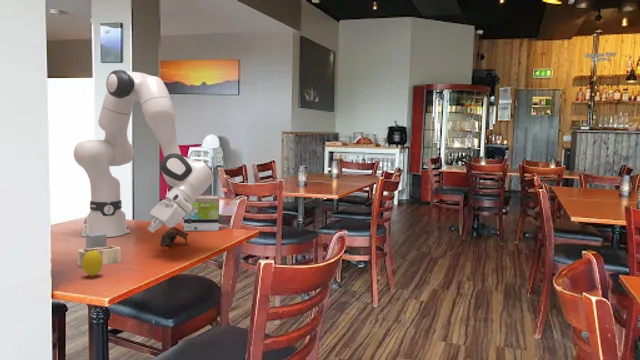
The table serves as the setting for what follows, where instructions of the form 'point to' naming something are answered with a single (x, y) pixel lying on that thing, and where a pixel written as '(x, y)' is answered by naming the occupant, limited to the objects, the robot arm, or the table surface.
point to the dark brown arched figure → (172, 236)
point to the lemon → (92, 263)
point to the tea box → (203, 214)
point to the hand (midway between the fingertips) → (149, 230)
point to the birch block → (103, 254)
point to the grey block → (96, 240)
